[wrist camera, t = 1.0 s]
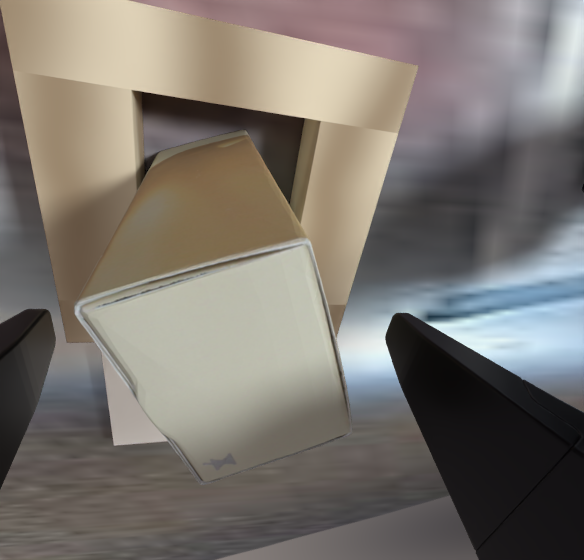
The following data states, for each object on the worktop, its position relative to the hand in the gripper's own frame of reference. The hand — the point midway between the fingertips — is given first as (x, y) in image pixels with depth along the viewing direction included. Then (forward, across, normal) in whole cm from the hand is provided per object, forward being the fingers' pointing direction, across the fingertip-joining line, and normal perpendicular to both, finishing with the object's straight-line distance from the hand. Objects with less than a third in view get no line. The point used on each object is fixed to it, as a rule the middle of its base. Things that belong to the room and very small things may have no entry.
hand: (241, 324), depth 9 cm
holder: (+10, 0, 0) cm, 10 cm away
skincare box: (+10, 0, 0) cm, 10 cm away
